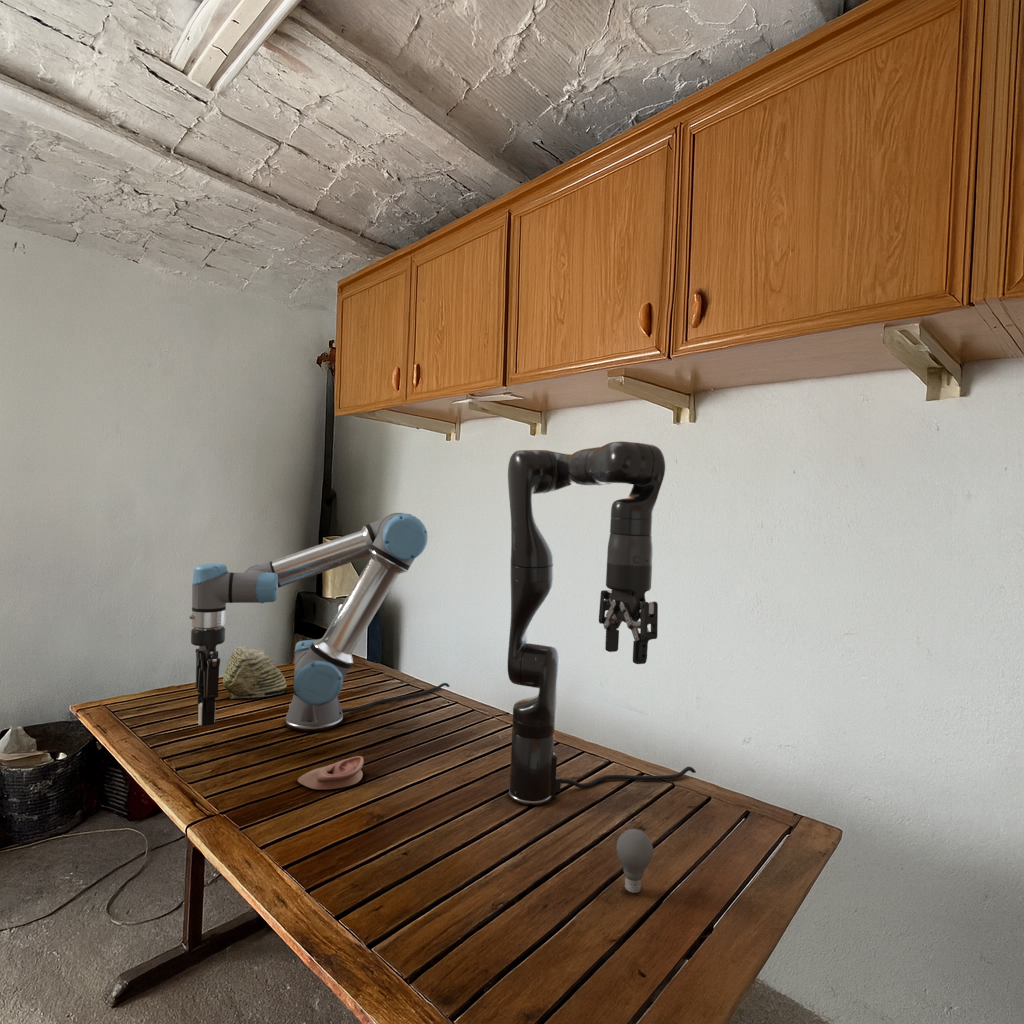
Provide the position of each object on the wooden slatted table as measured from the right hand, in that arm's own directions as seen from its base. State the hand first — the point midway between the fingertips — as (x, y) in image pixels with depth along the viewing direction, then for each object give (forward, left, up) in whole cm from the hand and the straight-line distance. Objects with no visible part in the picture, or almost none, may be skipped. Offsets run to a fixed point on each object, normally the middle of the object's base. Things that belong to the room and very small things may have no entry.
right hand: (624, 657), depth 107 cm
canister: (+67, -80, -32) cm, 110 cm away
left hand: (+67, -80, -32) cm, 110 cm away
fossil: (+56, -121, -39) cm, 139 cm away
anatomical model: (+40, -54, -39) cm, 78 cm away
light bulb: (-2, +3, -39) cm, 39 cm away
